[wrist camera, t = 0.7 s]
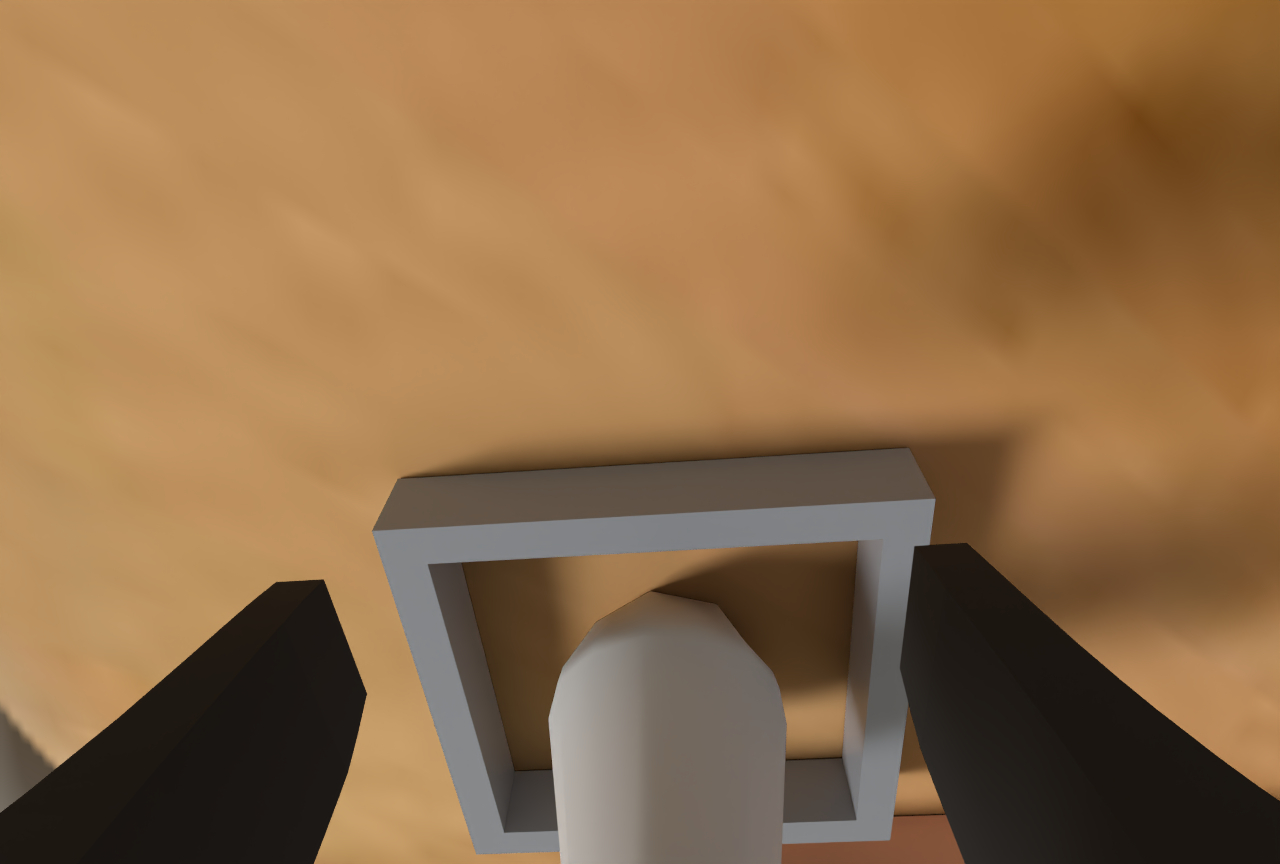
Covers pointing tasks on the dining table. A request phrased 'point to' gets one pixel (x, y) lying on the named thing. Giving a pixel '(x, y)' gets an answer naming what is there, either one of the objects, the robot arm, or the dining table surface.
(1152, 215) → the dining table surface
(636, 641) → the salt shaker
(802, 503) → the grey square frame
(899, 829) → the salmon pink square frame
